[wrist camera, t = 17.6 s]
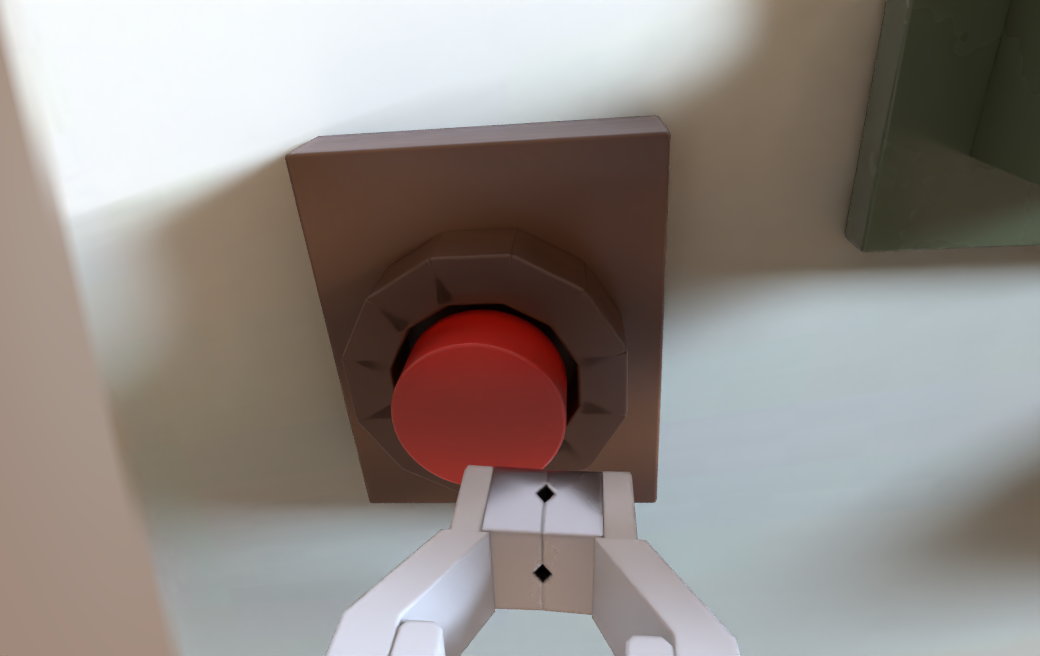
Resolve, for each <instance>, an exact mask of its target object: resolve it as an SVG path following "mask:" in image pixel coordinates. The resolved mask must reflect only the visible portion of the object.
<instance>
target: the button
mask: <svg viewBox="0 0 1040 656" xmlns="http://www.w3.org/2000/svg"><path fill="white" fill-rule="evenodd" d="M391 416H392V422H393V426H394V429H395V432H396V435H397V437H398V439H399V441H400V443H401V444H402V446H403V447H404V449H405V450H406V451H407V453H408V454H409V455H410V456H411V457H412V458H413V459H414V460H415V461H416V462H417V463H418V464H419V465H421V466H422V467H423V468H425V469H426V470H427V471H429V472H431V473H432V474H434V475H436V476H438V477H440V478H442V479H444V480H447V481H450V482H453V483H456V484H460V485H461V482H462V478H463V475H464V471H465V469H466V468H467V466H468V465H476V466H491V467H495V466H498V467H514V468H529V469H543V468H544V467H545V466H546V465H547V464H548V463H549V462H550V461H551V460H552V459H553V458H554V456H555V455H556V454H557V452H558V450H559V448H560V447H561V445H562V442H563V439H564V436H565V431H566V419H567V375H566V369H565V365H564V362H563V360H562V357H561V355H560V353H559V351H558V350H557V348H556V347H555V345H554V344H553V343H552V341H551V340H550V339H549V338H548V337H547V336H546V335H545V334H544V333H543V332H542V331H541V330H540V329H538V328H537V327H535V326H534V325H533V324H531V323H530V322H528V321H526V320H524V319H522V318H520V317H517V316H515V315H512V314H509V313H505V312H502V311H496V310H485V309H477V310H467V311H462V312H458V313H455V314H452V315H449V316H446V317H445V318H443V319H441V320H439V321H437V322H436V323H434V324H433V325H431V326H430V327H429V328H428V329H427V330H425V331H424V332H423V333H422V335H421V336H420V337H419V338H418V340H417V341H416V343H415V345H414V346H413V348H412V350H411V352H410V355H409V357H408V359H407V361H406V364H405V366H404V368H403V370H402V373H401V375H400V377H399V379H398V381H397V384H396V386H395V389H394V392H393V395H392V401H391Z"/></svg>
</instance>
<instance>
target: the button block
mask: <svg viewBox="0 0 1040 656" xmlns="http://www.w3.org/2000/svg"><path fill="white" fill-rule="evenodd" d="M670 136H671V135H670V132H669V131H668V129H667V128H666V126H665V125H664V123H663V122H662V121H661V119H660V118H659V116H656V115H652V116H636V117H620V118H604V119H588V120H572V121H556V122H540V123H524V124H508V125H492V126H476V127H460V128H444V129H428V130H412V131H396V132H380V133H364V134H348V135H332V136H318V137H316V138H314V139H313V140H311V141H309V142H307V143H306V144H304V145H302V146H300V147H299V148H297V149H295V150H293V151H292V152H290V153H288V154H286V155H285V160H286V164H287V168H288V172H289V176H290V180H291V184H292V188H293V192H294V196H295V200H296V205H297V209H298V213H299V217H300V221H301V225H302V229H303V233H304V237H305V241H306V245H307V249H308V253H309V257H310V261H311V265H312V269H313V274H314V278H315V282H316V286H317V290H318V294H319V298H320V302H321V306H322V310H323V314H324V318H325V322H326V326H327V330H328V334H329V338H330V343H331V347H332V351H333V355H334V359H335V363H336V367H337V371H338V375H339V379H340V383H341V387H342V391H343V395H344V399H345V403H346V407H347V412H348V416H349V420H350V424H351V428H352V432H353V436H354V440H355V444H356V448H357V452H358V456H359V460H360V464H361V468H362V472H363V476H364V481H365V485H366V489H367V493H368V497H369V501H370V503H456V501H457V498H458V494H459V490H460V486H461V485H460V484H456V483H453V482H450V481H447V480H444V479H442V478H440V477H438V476H436V475H434V474H432V473H431V472H429V471H427V470H426V469H425V468H423V467H422V466H421V465H419V464H418V463H417V462H416V461H415V460H414V459H413V458H412V457H411V456H410V455H409V454H408V453H407V451H406V450H405V449H404V447H403V446H402V444H401V443H400V441H399V439H398V437H397V435H396V432H395V429H394V426H393V422H392V416H391V401H392V395H393V392H394V389H395V386H396V384H397V381H398V379H399V377H400V375H401V373H402V370H403V368H404V366H405V364H406V361H407V359H408V357H409V355H410V352H411V350H412V348H413V346H414V345H415V343H416V341H417V340H418V338H419V337H420V336H421V335H422V333H423V332H424V331H425V330H427V329H428V328H429V327H430V326H431V325H433V324H434V323H436V322H437V321H439V320H441V319H443V318H445V317H446V316H449V315H452V314H455V313H458V312H462V311H467V310H477V309H485V310H496V311H502V312H505V313H509V314H512V315H515V316H517V317H520V318H522V319H524V320H526V321H528V322H530V323H531V324H533V325H534V326H535V327H537V328H538V329H540V330H541V331H542V332H543V333H544V334H545V335H546V336H547V337H548V338H549V339H550V340H551V341H552V343H553V344H554V345H555V347H556V348H557V350H558V351H559V353H560V355H561V357H562V360H563V362H564V365H565V369H566V375H567V419H566V431H565V436H564V439H563V442H562V445H561V447H560V448H559V450H558V452H557V454H556V455H555V456H554V458H553V459H552V460H551V461H550V462H549V463H548V464H547V465H546V466H545V467H544V468H543V469H544V470H567V471H595V472H603V471H614V472H630V474H631V475H632V484H633V495H634V503H654V502H656V500H657V476H658V450H659V424H660V398H661V372H662V345H663V319H664V293H665V267H666V241H667V215H668V189H669V163H670Z"/></svg>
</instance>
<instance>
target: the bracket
mask: <svg viewBox="0 0 1040 656" xmlns="http://www.w3.org/2000/svg"><path fill="white" fill-rule="evenodd" d="M845 237H846V238H847V239H848V240H849V241H850V242H851V243H852V244H853V245H855V246H856V247H857V248H858V249H859V250H860V251H862V252H880V251H905V250H930V249H955V248H980V247H1005V246H1030V245H1040V0H887V2H886V8H885V13H884V19H883V24H882V30H881V36H880V41H879V47H878V53H877V58H876V64H875V69H874V75H873V81H872V86H871V92H870V97H869V103H868V109H867V114H866V120H865V126H864V131H863V137H862V142H861V148H860V154H859V159H858V165H857V170H856V176H855V182H854V187H853V193H852V198H851V204H850V210H849V215H848V221H847V227H846V232H845Z"/></svg>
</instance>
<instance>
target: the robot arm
mask: <svg viewBox="0 0 1040 656" xmlns="http://www.w3.org/2000/svg"><path fill="white" fill-rule="evenodd" d="M495 609H523V610H546V611H556V612H567V613H578V614H589V615H592V618H593V620H594V621H595V623H596V625H597V627H598V628H599V630H600V632H601V633H602V635H603V637H604V638H605V640H606V642H607V643H608V645H609V647H610V648H611V650H612V652H613V653H614V655H615V656H740V652H739V648H738V643H737V640H736V639H735V638H734V637H733V635H732V634H731V633H730V632H729V631H728V630H727V629H726V628H725V627H724V626H723V624H722V623H721V622H720V621H719V620H718V619H717V618H716V617H715V616H714V615H713V613H712V612H711V611H710V610H709V609H708V608H707V607H706V606H705V605H704V604H703V602H702V601H701V600H700V599H699V598H698V597H697V596H696V595H695V594H694V593H693V591H692V590H691V589H690V588H689V587H688V586H687V585H686V584H685V583H684V582H683V580H682V579H681V578H680V577H679V576H678V575H677V574H676V573H675V572H674V571H673V569H672V568H671V567H670V566H669V565H668V564H667V563H666V562H665V561H664V560H663V558H662V557H661V556H660V555H659V554H658V553H657V552H656V551H655V550H654V549H653V547H652V546H651V545H650V544H649V543H648V542H647V541H646V540H638V538H637V527H636V516H635V505H634V495H633V484H632V475H631V474H630V472H614V471H603V472H595V471H567V470H544V469H529V468H514V467H498V466H495V467H491V466H476V465H468V466H467V468H466V469H465V471H464V475H463V478H462V482H461V486H460V490H459V494H458V498H457V501H456V505H455V509H454V513H453V517H452V521H451V524H450V528H449V530H440V531H439V532H438V533H436V534H435V535H434V536H433V537H432V538H430V539H429V540H428V541H427V542H426V543H425V544H423V545H422V546H421V547H420V548H419V549H417V550H416V551H415V552H414V553H413V554H411V555H410V556H409V557H408V558H407V559H406V560H404V561H403V562H402V563H401V564H400V565H398V566H397V567H396V568H395V569H394V570H392V571H391V572H390V573H389V574H388V575H387V576H385V577H384V578H383V579H382V580H381V581H379V582H378V583H377V584H376V585H375V586H373V587H372V588H371V589H370V590H369V591H368V592H366V593H365V594H364V595H363V596H362V597H360V598H359V599H358V600H357V601H356V602H354V603H353V604H352V605H351V606H350V607H349V608H347V609H346V610H345V611H344V612H343V613H342V615H341V617H340V620H339V622H338V625H337V627H336V630H335V632H334V635H333V637H332V640H331V642H330V645H329V647H328V650H327V652H326V655H325V656H460V655H461V654H462V652H463V651H464V650H465V649H466V647H467V646H468V645H469V644H470V642H471V641H472V640H473V639H474V637H475V636H476V635H477V633H478V632H479V631H480V630H481V628H482V627H483V626H484V625H485V623H486V622H487V621H488V620H489V618H490V617H491V616H492V615H493V613H494V612H495Z"/></svg>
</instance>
